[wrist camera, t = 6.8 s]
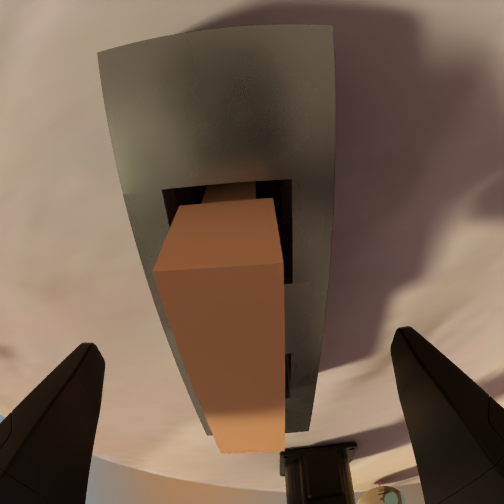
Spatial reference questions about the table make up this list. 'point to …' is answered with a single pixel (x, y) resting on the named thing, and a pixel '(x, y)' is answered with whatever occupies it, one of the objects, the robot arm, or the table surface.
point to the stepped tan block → (229, 313)
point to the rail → (234, 158)
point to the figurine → (382, 496)
